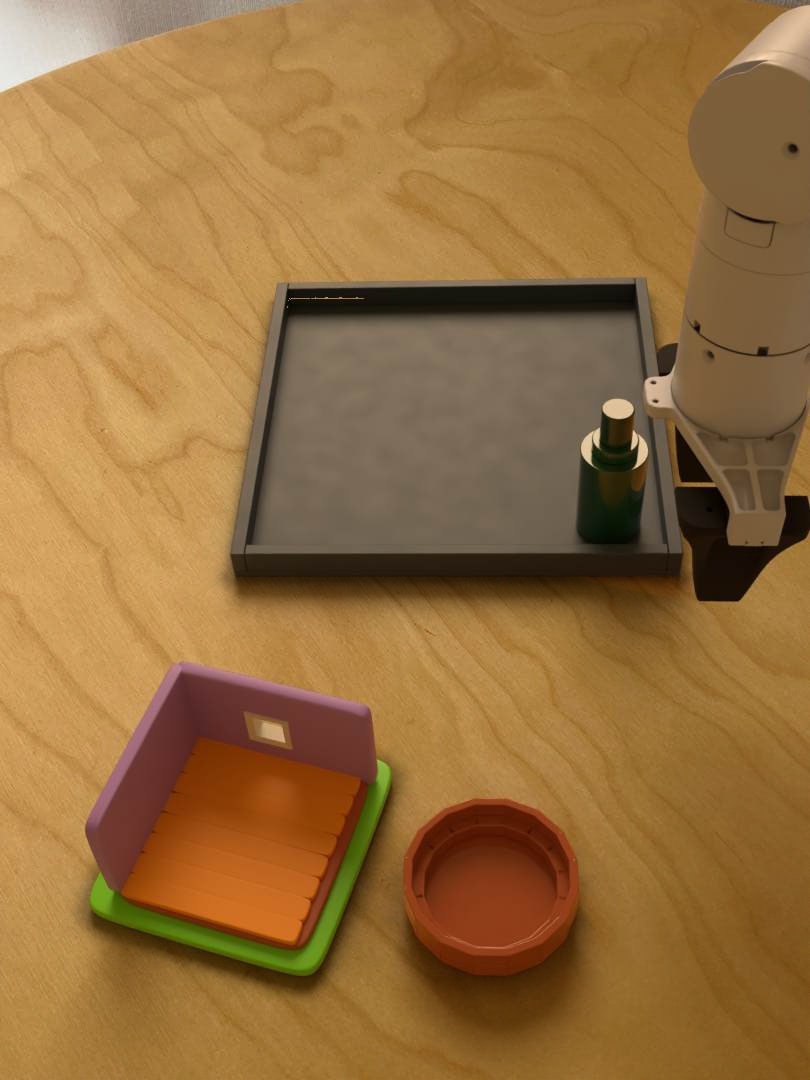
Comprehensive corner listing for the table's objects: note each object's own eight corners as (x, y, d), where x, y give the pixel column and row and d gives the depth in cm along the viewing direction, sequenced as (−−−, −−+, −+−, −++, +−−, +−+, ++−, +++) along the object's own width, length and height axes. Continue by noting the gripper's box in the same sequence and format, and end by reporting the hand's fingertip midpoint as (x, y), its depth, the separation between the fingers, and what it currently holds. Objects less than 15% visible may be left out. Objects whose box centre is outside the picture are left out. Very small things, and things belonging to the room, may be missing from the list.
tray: (644, 299, 93) (646, 276, 92) (680, 576, 76) (683, 553, 75) (280, 304, 95) (277, 282, 94) (234, 576, 78) (229, 554, 76)
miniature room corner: (186, 715, 71) (162, 634, 66) (399, 769, 68) (392, 689, 63) (81, 915, 64) (46, 841, 58) (317, 985, 61) (301, 914, 56)
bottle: (637, 499, 80) (651, 385, 73) (642, 547, 77) (657, 432, 71) (573, 500, 80) (581, 385, 73) (576, 547, 77) (584, 433, 71)
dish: (572, 825, 66) (574, 798, 64) (579, 982, 60) (582, 957, 58) (409, 823, 66) (406, 796, 64) (402, 978, 61) (399, 954, 59)
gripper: (642, 208, 60) (616, 430, 70) (672, 433, 50) (636, 653, 60) (802, 208, 59) (752, 431, 69) (864, 434, 50) (795, 655, 60)
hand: (708, 534), depth 65 cm, fingers open, 7 cm apart
